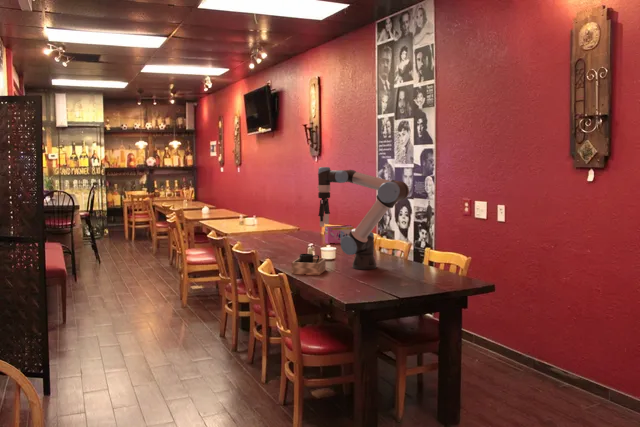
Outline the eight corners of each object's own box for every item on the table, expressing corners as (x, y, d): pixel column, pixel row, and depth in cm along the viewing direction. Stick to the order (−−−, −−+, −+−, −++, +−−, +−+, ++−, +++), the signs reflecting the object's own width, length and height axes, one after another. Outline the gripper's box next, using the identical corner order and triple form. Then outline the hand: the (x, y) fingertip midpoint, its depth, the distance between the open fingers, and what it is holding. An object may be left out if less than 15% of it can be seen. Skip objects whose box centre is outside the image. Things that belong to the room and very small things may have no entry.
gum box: (351, 241, 491) (351, 225, 490) (355, 242, 484) (355, 226, 482) (324, 242, 483) (324, 226, 482) (327, 244, 476) (327, 227, 475)
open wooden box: (325, 269, 366) (325, 258, 365) (319, 275, 349) (319, 263, 349) (299, 268, 370) (298, 257, 369) (291, 274, 353) (291, 262, 352)
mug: (320, 270, 357) (320, 255, 357) (301, 271, 355) (301, 256, 354) (317, 268, 365) (317, 253, 365) (298, 269, 363) (298, 253, 362)
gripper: (322, 190, 383) (322, 223, 385) (313, 192, 359) (314, 227, 361) (334, 190, 381) (334, 223, 383) (325, 192, 357) (326, 227, 359)
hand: (324, 225), depth 372 cm, fingers open, 13 cm apart
